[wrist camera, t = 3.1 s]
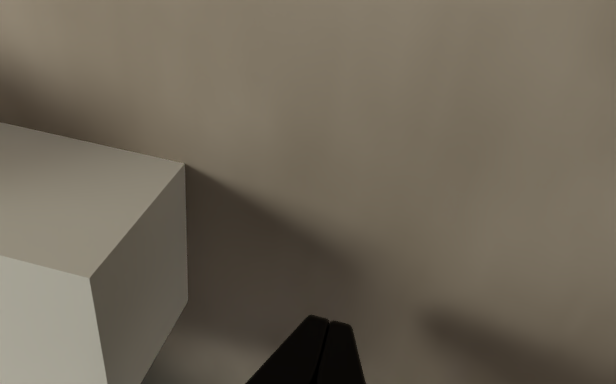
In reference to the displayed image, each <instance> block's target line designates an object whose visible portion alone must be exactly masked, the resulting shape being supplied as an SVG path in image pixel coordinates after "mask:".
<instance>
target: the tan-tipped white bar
mask: <svg viewBox="0 0 616 384" xmlns="http://www.w3.org/2000/svg"><path fill="white" fill-rule="evenodd" d="M187 302H188V273H187V232H186V191H185V163H181V162H176V161H172V160H167V159H163V158H158V157H154V156H149V155H145V154H140V153H136V152H131V151H127V150H122V149H118V148H114V147H109V146H105V145H100V144H96V143H91V142H87V141H82V140H78V139H73V138H69V137H64V136H60V135H55V134H51V133H47V132H42V131H38V130H33V129H29V128H24V127H20V126H15V125H11V124H6V123H2V122H0V384H141V382H142V381H143V379H144V377H145V375H146V374H147V372H148V370H149V368H150V367H151V365H152V363H153V361H154V360H155V358H156V356H157V354H158V353H159V351H160V349H161V348H162V346H163V344H164V342H165V341H166V339H167V337H168V335H169V334H170V332H171V330H172V328H173V327H174V325H175V323H176V321H177V320H178V318H179V316H180V315H181V313H182V311H183V309H184V308H185V306H186V304H187Z"/></svg>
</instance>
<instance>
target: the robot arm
mask: <svg viewBox="0 0 616 384" xmlns="http://www.w3.org/2000/svg"><path fill="white" fill-rule="evenodd" d="M246 384H366V382H365V378H364V374H363V370H362V366H361V362H360V358H359V354H358V350H357V345H356V341H355V337H354V333H353V329H352V327H351V325H349V324H346V323H342V322H338V321H331V322H330V324H329V320H328V319H326V318H322V317H318V316H314V315H309V316H308V317H306V318H305V319H304V321H303V322H302V323H301V324H300V325H299V326H298V327H297V328H296V329H295V330H294V331H293V333H292V334H291V335H290V336H289V337H288V338H287V339H286V340H285V341H284V342H283V343H282V344H281V346H280V347H279V348H278V349H277V350H276V351H275V352H274V353H273V354H272V355H271V356H270V358H269V359H268V360H267V361H266V362H265V363H264V364H263V365H262V366H261V367H260V368H259V370H258V371H257V372H256V373H255V374H254V375H253V376H252V377H251V378H250V379H249V380H248V381H247V383H246Z"/></svg>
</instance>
